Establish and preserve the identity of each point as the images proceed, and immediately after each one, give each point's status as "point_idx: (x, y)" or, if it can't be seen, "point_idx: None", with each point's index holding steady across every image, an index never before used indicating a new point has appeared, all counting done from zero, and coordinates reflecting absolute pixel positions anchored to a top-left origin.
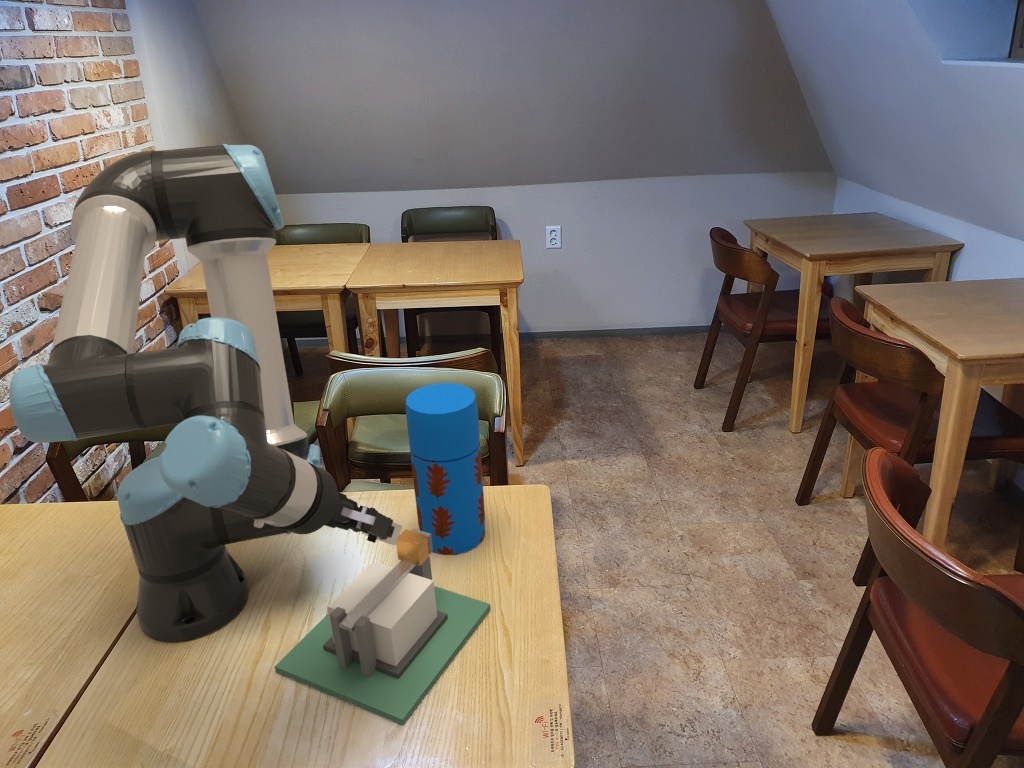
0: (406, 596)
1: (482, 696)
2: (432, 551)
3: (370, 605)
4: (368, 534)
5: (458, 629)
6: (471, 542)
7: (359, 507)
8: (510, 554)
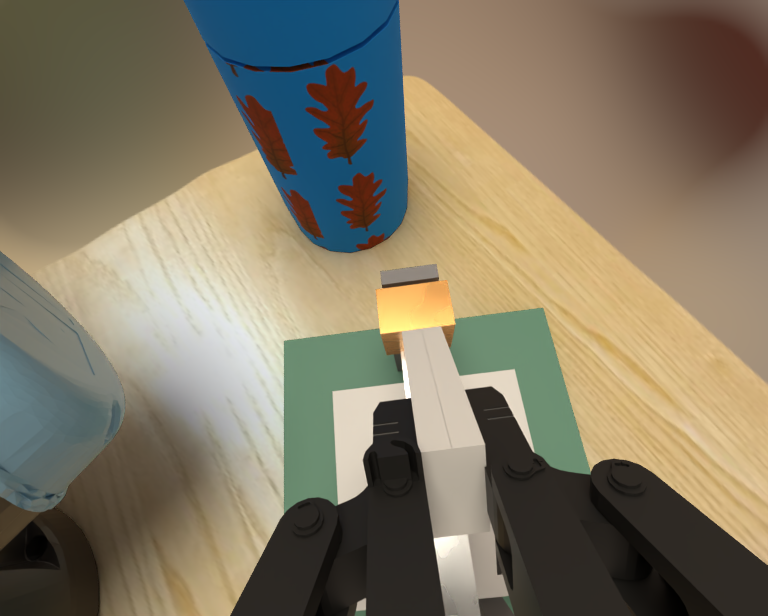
0: None
1: (700, 504)
2: None
3: (462, 553)
4: (469, 528)
5: (544, 392)
6: (404, 205)
7: (366, 471)
8: (469, 193)
